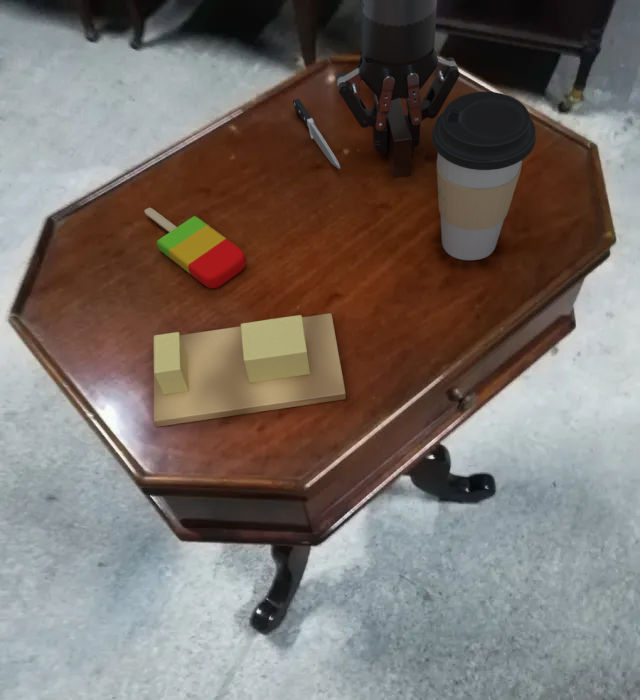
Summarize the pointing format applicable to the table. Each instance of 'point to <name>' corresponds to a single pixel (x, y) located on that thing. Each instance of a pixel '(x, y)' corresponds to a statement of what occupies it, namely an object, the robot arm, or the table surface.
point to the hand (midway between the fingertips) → (396, 149)
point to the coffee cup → (479, 168)
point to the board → (233, 383)
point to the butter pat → (170, 363)
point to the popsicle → (200, 250)
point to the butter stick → (274, 349)
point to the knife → (315, 132)
